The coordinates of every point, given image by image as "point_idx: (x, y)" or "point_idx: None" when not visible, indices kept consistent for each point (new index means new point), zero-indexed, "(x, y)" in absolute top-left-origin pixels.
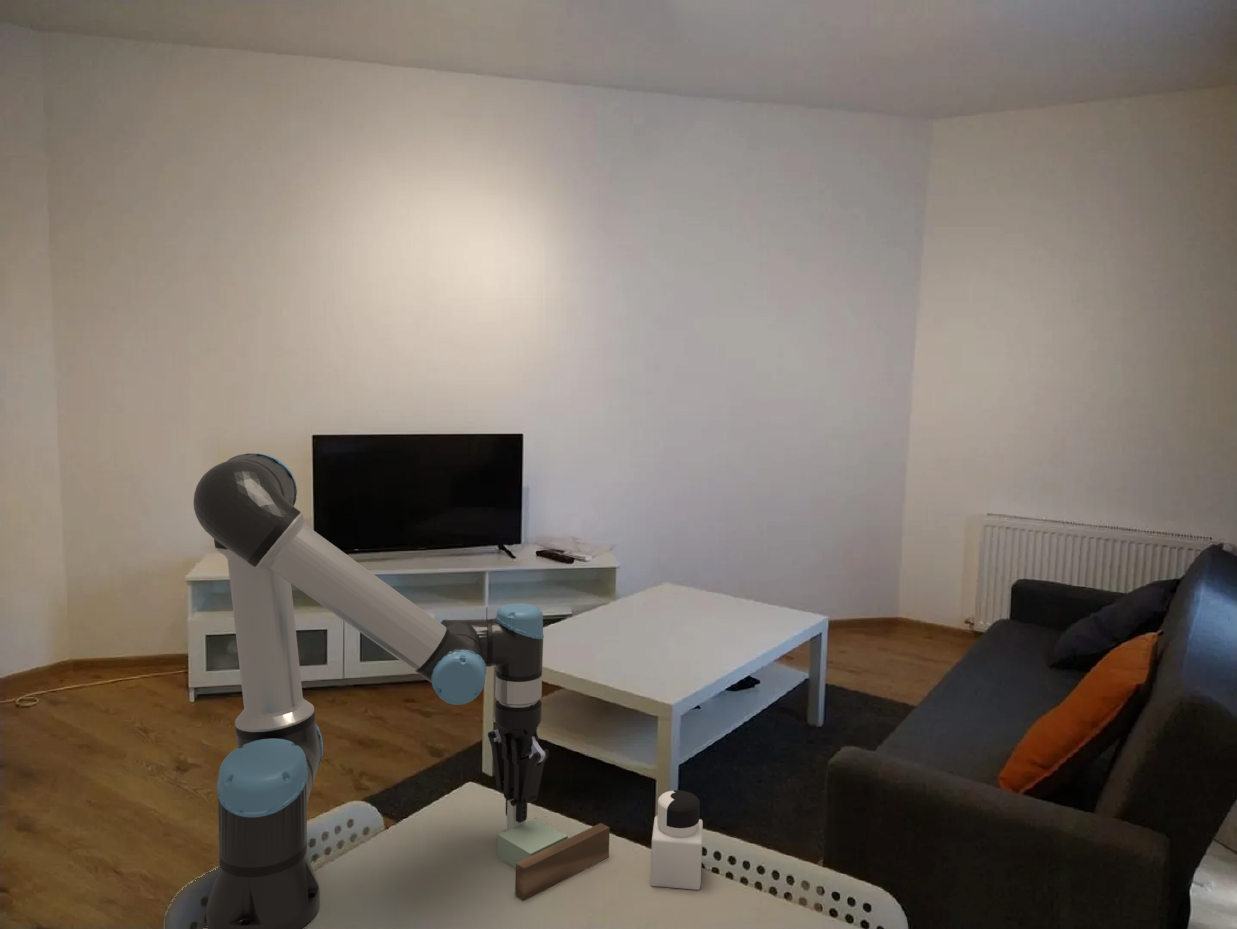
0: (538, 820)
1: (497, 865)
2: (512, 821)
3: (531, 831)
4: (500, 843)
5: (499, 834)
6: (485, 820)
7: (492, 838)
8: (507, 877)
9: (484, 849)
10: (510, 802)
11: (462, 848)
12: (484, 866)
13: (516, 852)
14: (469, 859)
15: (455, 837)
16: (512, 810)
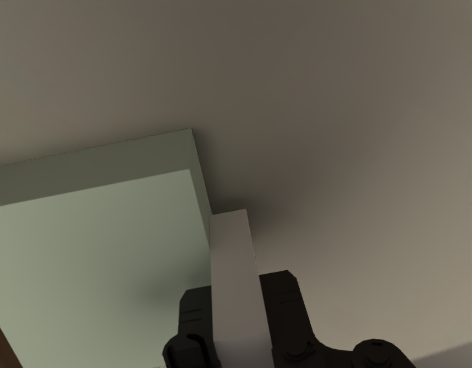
0: None
1: (134, 101)
2: (213, 270)
3: (137, 301)
4: (169, 159)
5: (185, 177)
6: (460, 210)
7: (330, 176)
8: (26, 93)
9: (276, 112)
10: (207, 339)
11: (341, 35)
12: (153, 50)
13: (52, 182)
14: (241, 18)
15: (439, 51)
16: (216, 310)
